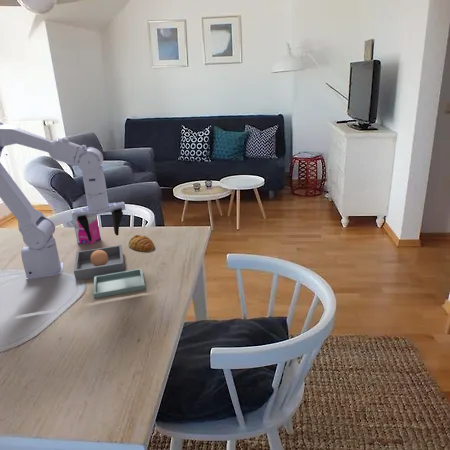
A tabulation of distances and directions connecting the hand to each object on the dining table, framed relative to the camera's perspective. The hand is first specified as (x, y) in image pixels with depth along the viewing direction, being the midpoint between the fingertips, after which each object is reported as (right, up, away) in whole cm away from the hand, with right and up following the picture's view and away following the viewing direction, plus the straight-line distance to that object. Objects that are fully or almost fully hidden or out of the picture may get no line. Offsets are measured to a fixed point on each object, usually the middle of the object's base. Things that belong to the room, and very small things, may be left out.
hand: (103, 237), depth 120 cm
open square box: (-1, -9, +2) cm, 10 cm away
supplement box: (-11, -3, +21) cm, 24 cm away
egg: (-1, -9, +2) cm, 9 cm away
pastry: (+9, -4, +15) cm, 18 cm away
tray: (+7, -13, -9) cm, 17 cm away
